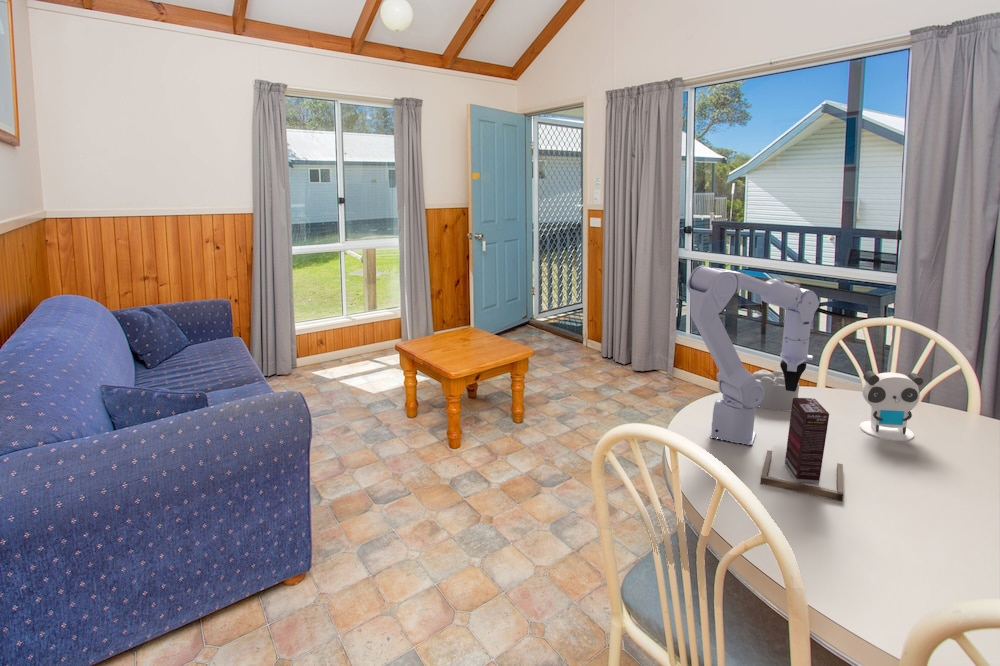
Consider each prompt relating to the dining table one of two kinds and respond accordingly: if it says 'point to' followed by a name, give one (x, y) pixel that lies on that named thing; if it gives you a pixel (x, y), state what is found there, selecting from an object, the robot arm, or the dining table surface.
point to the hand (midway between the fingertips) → (790, 390)
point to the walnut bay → (803, 487)
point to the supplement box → (806, 440)
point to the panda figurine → (890, 404)
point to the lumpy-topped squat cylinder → (775, 390)
